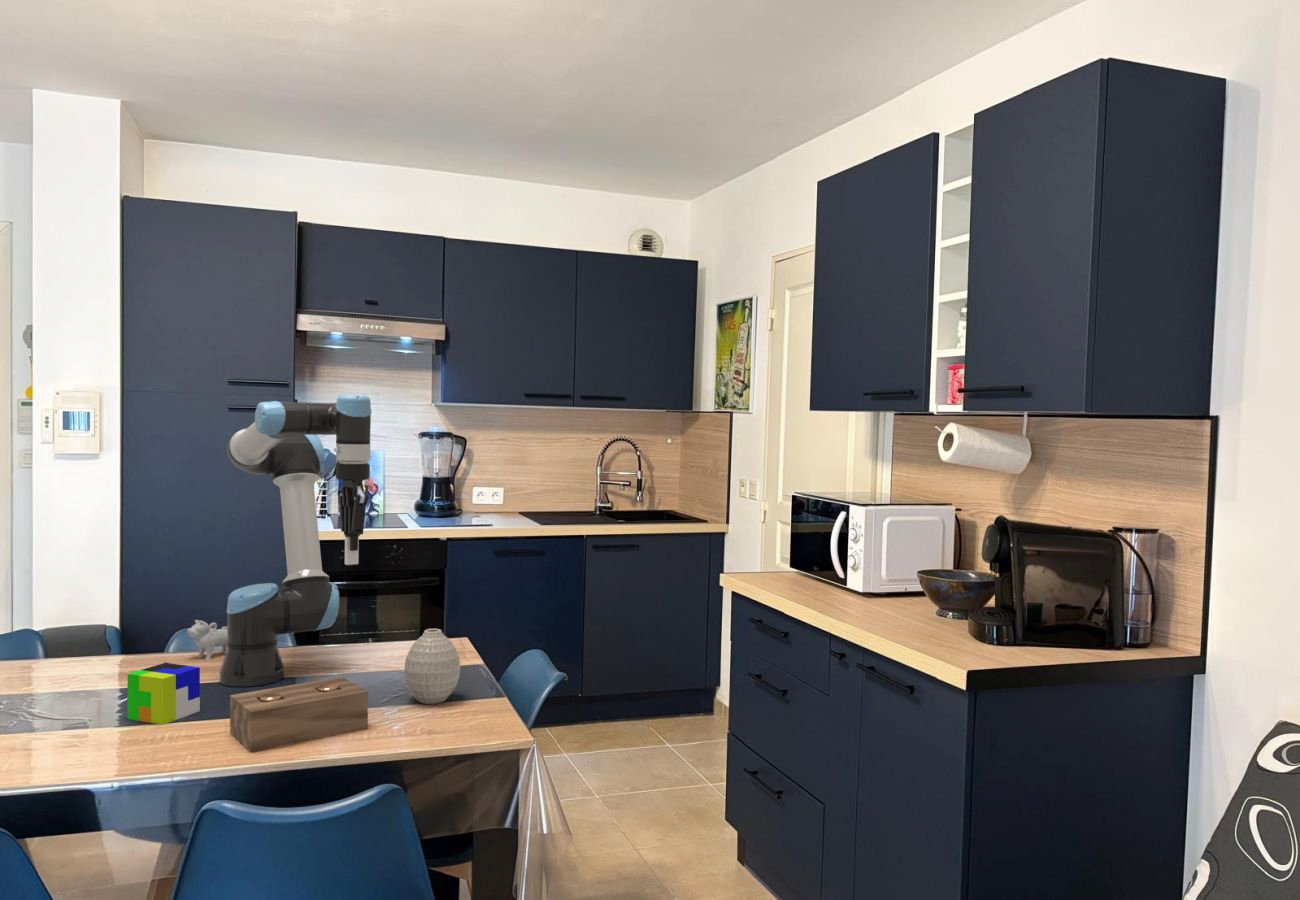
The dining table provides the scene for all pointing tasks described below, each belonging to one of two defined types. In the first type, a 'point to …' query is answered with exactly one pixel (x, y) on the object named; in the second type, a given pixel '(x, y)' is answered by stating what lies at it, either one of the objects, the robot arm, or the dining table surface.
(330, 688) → the peg
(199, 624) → the dog figurine
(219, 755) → the dining table surface
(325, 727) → the socket block
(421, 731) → the dining table surface
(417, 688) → the vase
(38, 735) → the dining table surface
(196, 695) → the puzzle toy
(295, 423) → the robot arm
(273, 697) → the peg
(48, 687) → the dining table surface
